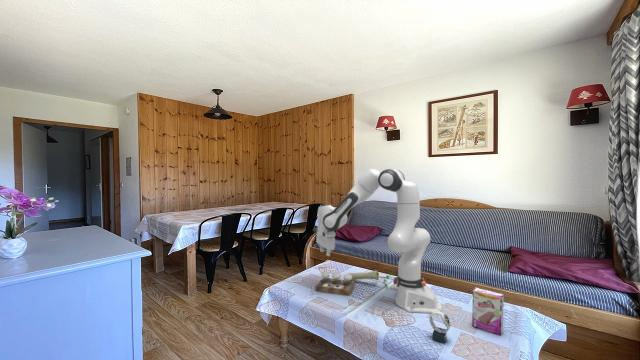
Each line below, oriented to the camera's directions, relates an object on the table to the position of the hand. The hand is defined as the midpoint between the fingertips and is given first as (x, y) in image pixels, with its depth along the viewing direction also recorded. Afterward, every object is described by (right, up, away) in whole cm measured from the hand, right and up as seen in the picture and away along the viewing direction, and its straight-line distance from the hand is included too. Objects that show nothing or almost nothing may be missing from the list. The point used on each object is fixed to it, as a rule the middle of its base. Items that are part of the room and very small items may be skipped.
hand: (325, 253), depth 171 cm
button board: (+6, -20, -4) cm, 21 cm away
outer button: (0, -14, 0) cm, 14 cm away
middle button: (+7, -14, -2) cm, 15 cm away
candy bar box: (+70, -21, -48) cm, 87 cm away
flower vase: (+30, -20, 0) cm, 36 cm away
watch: (+47, -21, -54) cm, 74 cm away
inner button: (+13, -14, -4) cm, 20 cm away
